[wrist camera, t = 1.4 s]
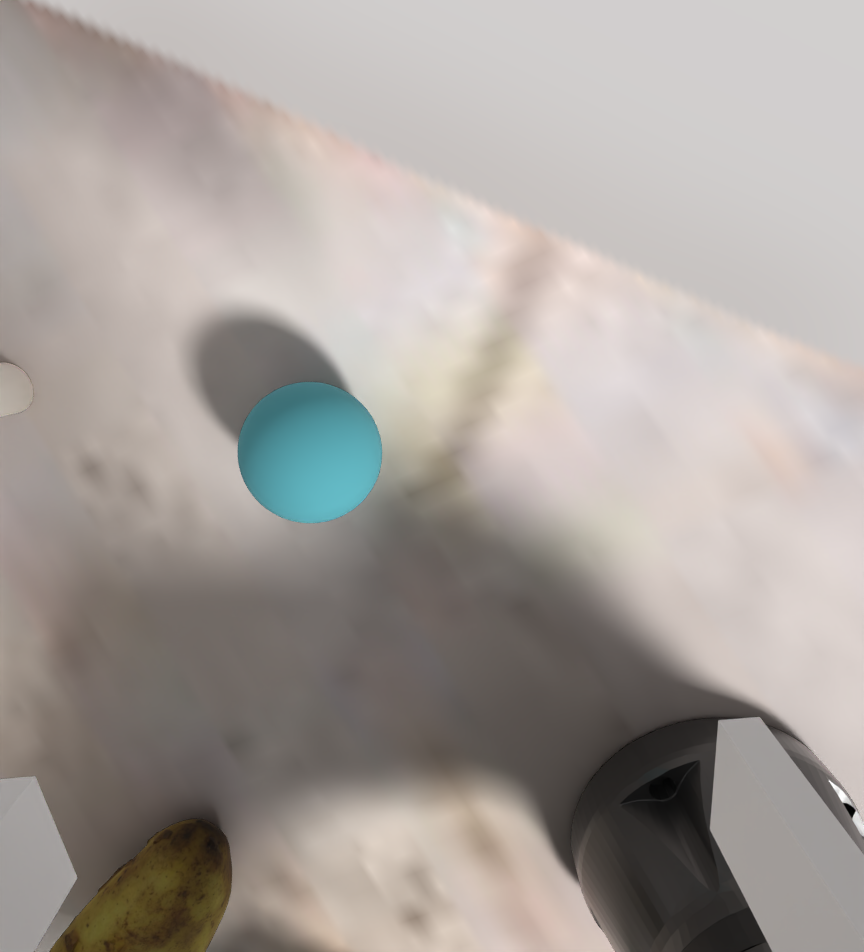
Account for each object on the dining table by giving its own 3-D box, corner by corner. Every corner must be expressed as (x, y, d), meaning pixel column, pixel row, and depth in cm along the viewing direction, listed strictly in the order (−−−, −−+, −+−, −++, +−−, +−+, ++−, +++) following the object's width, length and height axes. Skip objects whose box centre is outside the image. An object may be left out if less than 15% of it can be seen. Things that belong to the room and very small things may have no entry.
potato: (297, 875, 34) (256, 1037, 26) (139, 971, 36) (57, 1148, 28) (203, 780, 32) (130, 922, 25) (43, 886, 34) (-72, 1048, 27)
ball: (396, 387, 27) (384, 403, 21) (378, 508, 28) (362, 554, 22) (268, 366, 27) (221, 376, 21) (256, 489, 28) (210, 531, 22)
